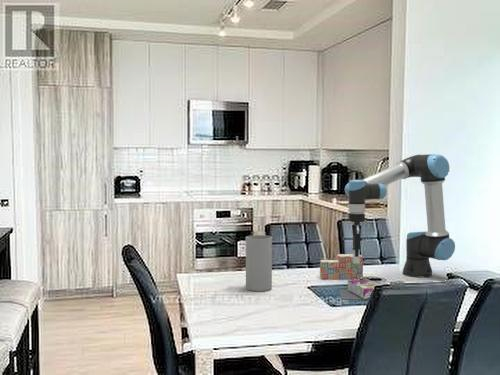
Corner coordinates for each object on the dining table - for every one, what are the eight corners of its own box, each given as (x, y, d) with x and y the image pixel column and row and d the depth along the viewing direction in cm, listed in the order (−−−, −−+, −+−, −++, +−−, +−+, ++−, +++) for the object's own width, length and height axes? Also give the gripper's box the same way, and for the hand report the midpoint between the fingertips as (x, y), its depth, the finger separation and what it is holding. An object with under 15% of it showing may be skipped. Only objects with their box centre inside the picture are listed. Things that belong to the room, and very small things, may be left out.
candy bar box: (368, 278, 243) (386, 287, 227) (368, 288, 243) (386, 298, 227) (347, 279, 240) (363, 288, 224) (346, 290, 240) (363, 299, 224)
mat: (373, 290, 240) (373, 290, 240) (378, 300, 224) (378, 299, 224) (338, 290, 242) (338, 289, 242) (341, 299, 225) (341, 299, 225)
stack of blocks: (321, 280, 264) (321, 256, 263) (319, 277, 270) (320, 254, 269) (363, 279, 264) (363, 256, 263) (360, 277, 270) (360, 254, 269)
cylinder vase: (269, 292, 238) (269, 239, 237) (243, 291, 240) (243, 238, 239) (273, 286, 250) (273, 235, 249) (248, 285, 253) (248, 234, 251)
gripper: (347, 211, 244) (346, 260, 245) (349, 214, 231) (349, 265, 232) (363, 211, 243) (362, 260, 245) (366, 214, 231) (366, 266, 232)
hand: (356, 263), depth 239 cm, fingers closed
